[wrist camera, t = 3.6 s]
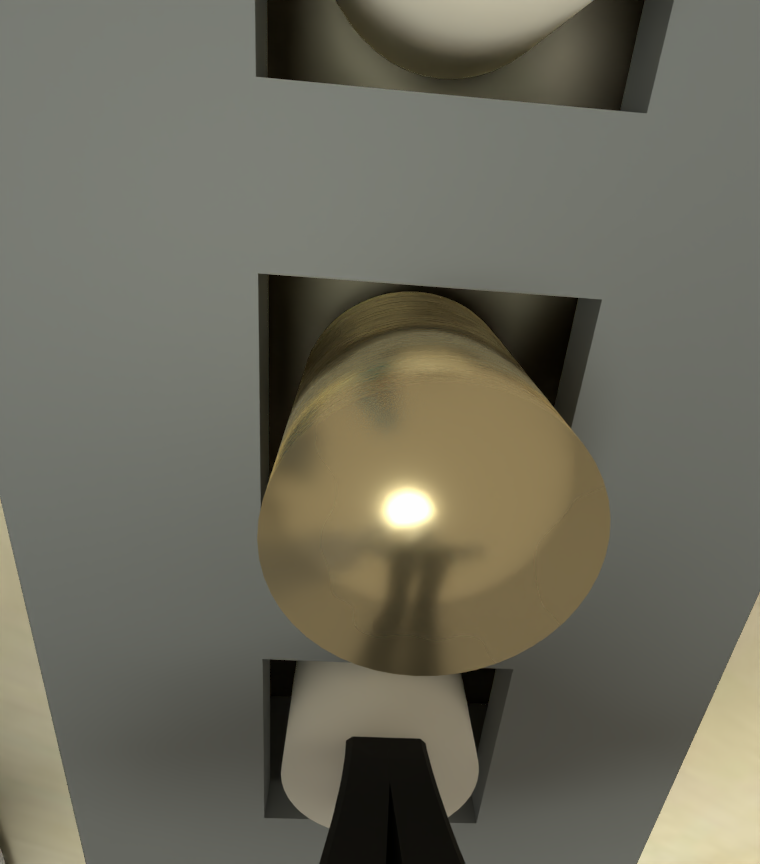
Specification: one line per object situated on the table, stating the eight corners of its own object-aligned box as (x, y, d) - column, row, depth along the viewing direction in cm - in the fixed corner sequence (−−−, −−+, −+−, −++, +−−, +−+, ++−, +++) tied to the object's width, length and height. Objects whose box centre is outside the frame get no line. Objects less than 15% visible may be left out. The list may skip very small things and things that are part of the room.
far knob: (438, 665, 15) (464, 839, 11) (303, 659, 15) (280, 834, 11) (456, 555, 14) (493, 710, 10) (306, 547, 13) (281, 702, 9)
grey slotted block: (574, 726, 16) (630, 876, 13) (148, 712, 16) (86, 865, 12) (923, -364, 7) (1402, -831, 4) (-10, -499, 7) (-395, -1189, 3)
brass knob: (492, 493, 11) (568, 682, 7) (299, 482, 10) (259, 669, 6) (529, 299, 9) (653, 394, 5) (303, 283, 9) (254, 368, 5)
